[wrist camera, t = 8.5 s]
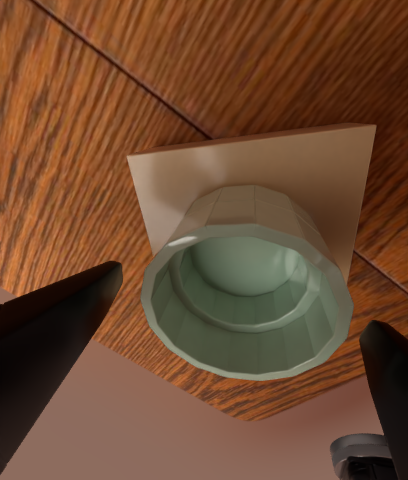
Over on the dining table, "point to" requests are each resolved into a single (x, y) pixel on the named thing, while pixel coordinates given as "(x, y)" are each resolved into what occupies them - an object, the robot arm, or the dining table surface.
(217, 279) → the bowl
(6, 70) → the dining table surface
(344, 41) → the dining table surface
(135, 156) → the plate
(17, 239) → the dining table surface
